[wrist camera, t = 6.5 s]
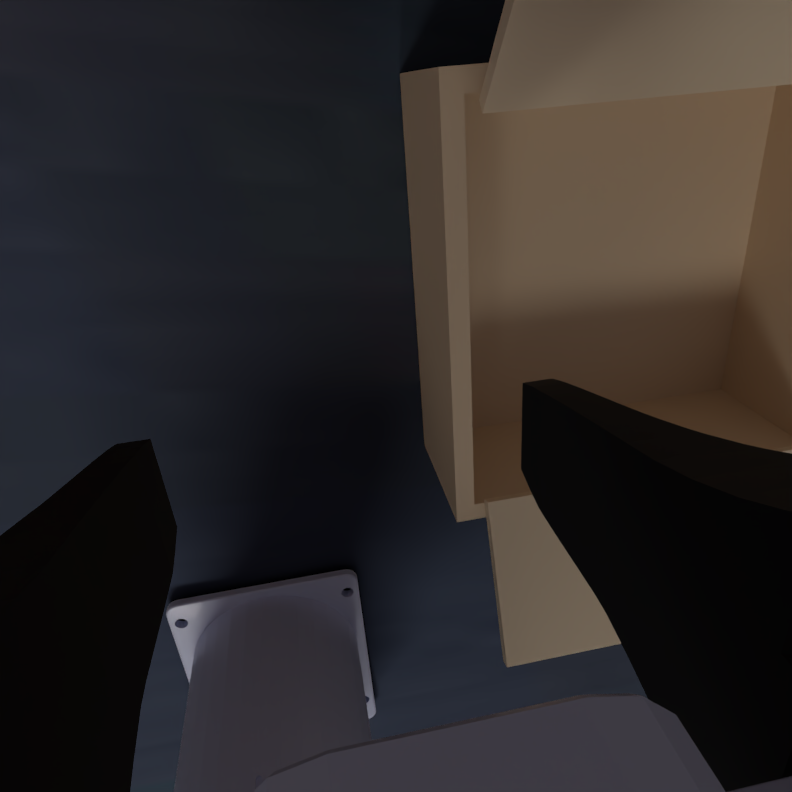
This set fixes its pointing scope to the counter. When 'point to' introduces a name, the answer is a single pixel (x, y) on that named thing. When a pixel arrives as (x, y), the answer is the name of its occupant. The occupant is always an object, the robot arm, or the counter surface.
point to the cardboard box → (596, 265)
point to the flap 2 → (541, 586)
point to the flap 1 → (633, 50)
